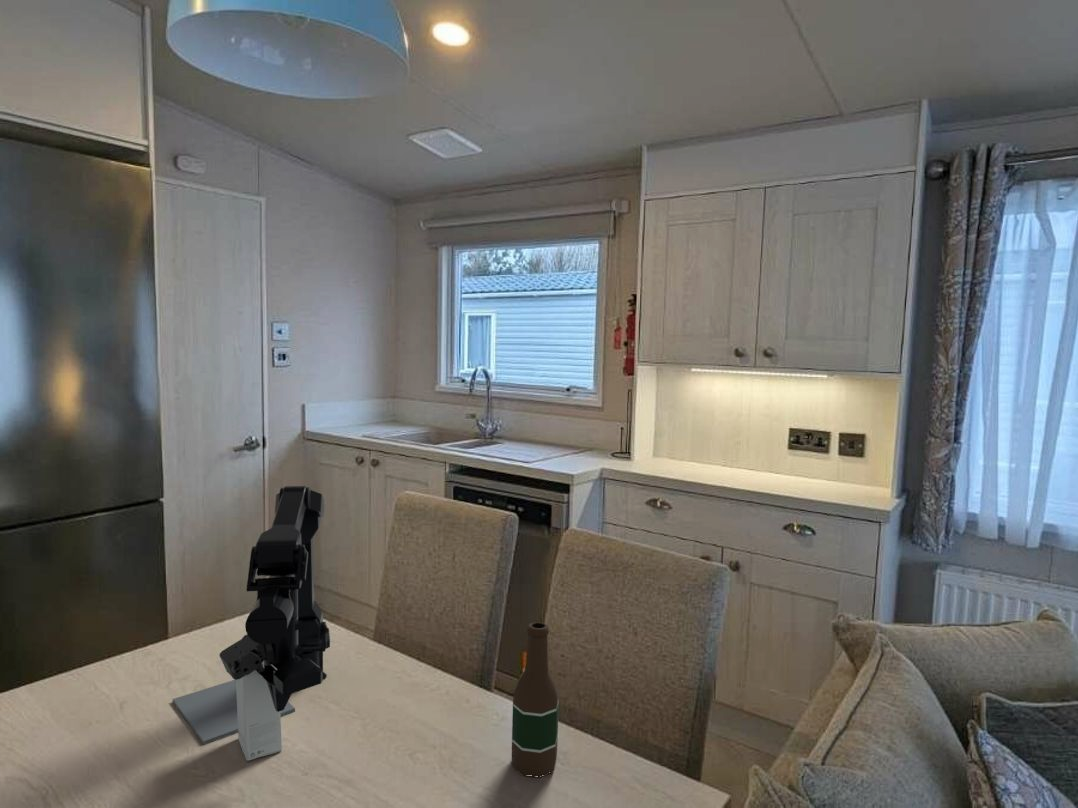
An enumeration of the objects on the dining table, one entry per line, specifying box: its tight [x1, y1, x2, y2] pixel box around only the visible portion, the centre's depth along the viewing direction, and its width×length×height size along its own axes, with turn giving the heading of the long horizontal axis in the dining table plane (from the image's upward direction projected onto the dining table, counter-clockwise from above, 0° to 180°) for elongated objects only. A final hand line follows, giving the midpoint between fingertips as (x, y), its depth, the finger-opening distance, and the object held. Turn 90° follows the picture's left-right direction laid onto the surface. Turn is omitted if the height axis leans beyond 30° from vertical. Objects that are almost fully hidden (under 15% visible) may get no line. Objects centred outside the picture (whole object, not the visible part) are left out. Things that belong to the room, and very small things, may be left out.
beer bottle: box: [511, 621, 560, 778], centre depth 111 cm, size 8×8×24 cm
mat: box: [172, 679, 296, 745], centre depth 127 cm, size 16×18×1 cm
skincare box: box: [236, 671, 283, 762], centre depth 114 cm, size 8×6×15 cm
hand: (279, 710), depth 108 cm, fingers closed
